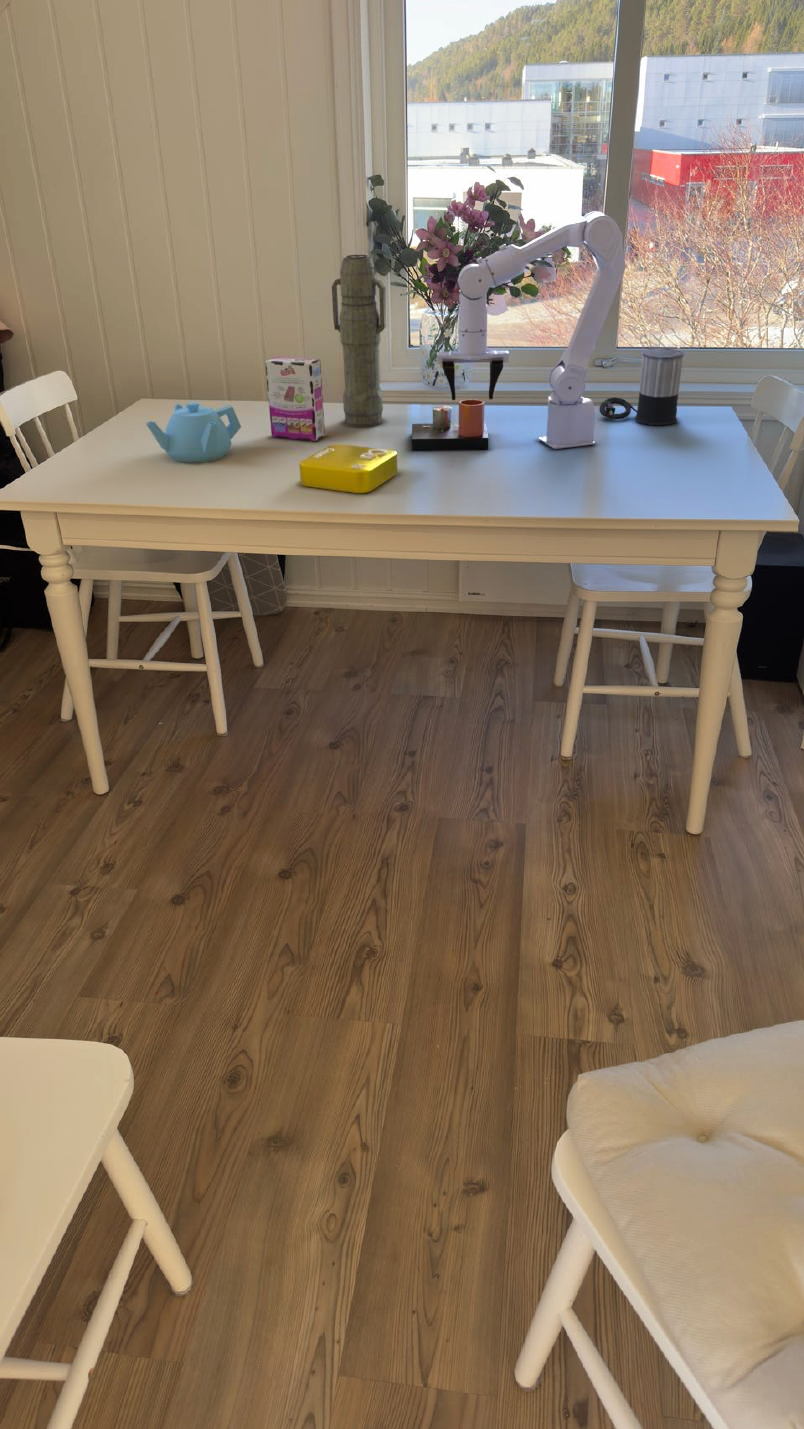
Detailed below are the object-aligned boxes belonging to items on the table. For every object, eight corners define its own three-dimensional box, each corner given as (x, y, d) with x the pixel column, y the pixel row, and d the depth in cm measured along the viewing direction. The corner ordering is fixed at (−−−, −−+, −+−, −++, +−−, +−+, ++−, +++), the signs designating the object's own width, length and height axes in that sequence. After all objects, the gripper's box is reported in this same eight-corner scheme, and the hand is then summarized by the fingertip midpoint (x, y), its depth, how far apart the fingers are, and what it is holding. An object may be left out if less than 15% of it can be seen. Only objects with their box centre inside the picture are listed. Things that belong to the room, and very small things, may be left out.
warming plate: (485, 432, 225) (485, 420, 224) (488, 449, 214) (488, 437, 212) (412, 433, 226) (412, 421, 224) (411, 451, 214) (411, 438, 213)
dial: (432, 424, 222) (432, 404, 220) (451, 424, 222) (451, 404, 220) (432, 429, 219) (432, 409, 217) (451, 429, 219) (451, 408, 217)
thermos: (385, 427, 230) (380, 258, 212) (334, 426, 232) (325, 258, 214) (393, 417, 238) (388, 253, 220) (343, 416, 239) (335, 253, 222)
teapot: (218, 467, 207) (212, 414, 201) (149, 464, 210) (142, 410, 205) (245, 446, 220) (240, 395, 214) (180, 443, 223) (174, 392, 217)
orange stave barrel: (477, 429, 219) (478, 398, 215) (487, 435, 214) (488, 404, 211) (454, 431, 217) (455, 400, 214) (464, 438, 213) (464, 406, 209)
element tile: (334, 464, 207) (333, 440, 205) (401, 472, 202) (400, 448, 199) (296, 485, 196) (294, 461, 193) (366, 495, 190) (365, 470, 188)
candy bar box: (326, 436, 225) (321, 358, 217) (316, 442, 221) (311, 363, 213) (281, 431, 229) (275, 355, 221) (270, 437, 225) (263, 360, 217)
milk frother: (684, 424, 228) (692, 355, 220) (618, 430, 225) (624, 360, 217) (656, 409, 240) (663, 342, 232) (593, 414, 237) (598, 347, 229)
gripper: (437, 334, 202) (437, 404, 209) (510, 332, 202) (508, 402, 209) (436, 327, 208) (436, 395, 215) (507, 326, 208) (506, 394, 215)
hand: (472, 398), depth 212 cm, fingers open, 7 cm apart
